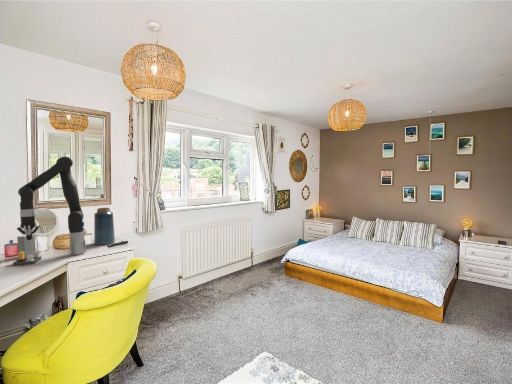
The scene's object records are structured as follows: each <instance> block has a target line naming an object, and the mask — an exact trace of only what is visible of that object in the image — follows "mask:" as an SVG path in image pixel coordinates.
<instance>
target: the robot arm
mask: <svg viewBox="0 0 512 384" xmlns="http://www.w3.org/2000/svg"><path fill="white" fill-rule="evenodd" d="M73 164H74V162H73V160H72V158H71V157H69V156H61V157H58V158H57V159H56V162H55V164H54V165H53V166H51V167H50V168H48V169H47V170H46V171H45V170H44V172H42V173H40V174H39V175H37V176H36V177H34V178H33V179H32V180H30V181H29V182H28V183H26V184H24V185H23V186H21V187H20V188H19V189H18V191H17V194H18V195H19V196H20V201H19V208H20V211H19V218H20V226H18V227H17V228H16V230H17V231H19V233H20V234H22V236H25V235H26V239H27V240H31V239H32V235H35V233H37V231H38V230H39V229H40V228H41V226H40V225H37V224H36V218H35V217H36V216H35V208H34V192H36V191H37V190H39V189H41V188H42V187H44V186H45V185H46V184H48V183H49V182H50V181H51V180H52V179H54V178H55V177H56V176H58V175H59V177H60V182H61V189H62V193H63V196H64V199H65V201H66V203H67V205H68V209H69V214H68V216H67V227H68V231H69V253H70V254H69V255H71V256H79V255H83V254H85V253H86V240H85V237H84V236H85V233H84V232H85V231H84V229H85V228H84V225H83V223H84V222H83V219H84V213H83V209H82V207H81V204H80V197H79V190H78V186H77V183H76V182H75V179H74V177H73V175H72V170H71V168H72V166H73Z"/></svg>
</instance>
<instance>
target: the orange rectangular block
mask: <svg viewBox="0 0 512 384" xmlns="http://www.w3.org/2000/svg"><path fill="white" fill-rule="evenodd" d="M25 259H27V258H25V254H24V252H19V253H18V252H17V259H16V260H15V261H17V260H25Z"/></svg>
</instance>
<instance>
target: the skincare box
mask: <svg viewBox="0 0 512 384" xmlns="http://www.w3.org/2000/svg"><path fill="white" fill-rule="evenodd" d="M35 235H36V234H32V239H31V240H27V239H26V235H25V234H24V235H20V236H17V237H16V238H17V240H16V241H17V254H18V253H19V252H24V254H25V257H27V255H30V254H33V256H34V252H35V251H36V239H35V237H36V236H35Z"/></svg>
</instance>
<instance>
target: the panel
mask: <svg viewBox="0 0 512 384" xmlns="http://www.w3.org/2000/svg"><path fill="white" fill-rule="evenodd" d="M25 258H27V259H25V260H17V259H16V260H17V261H16V260H15V261H12V266H20V265H21V266H22V265H34V264H36V263H38V262H39V261H41V260H42V255H41V254H40V250H35V252H34V255H33V254H30V255H27V257H25Z"/></svg>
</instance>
